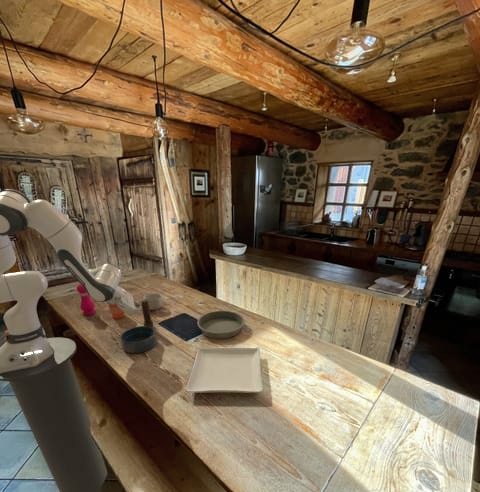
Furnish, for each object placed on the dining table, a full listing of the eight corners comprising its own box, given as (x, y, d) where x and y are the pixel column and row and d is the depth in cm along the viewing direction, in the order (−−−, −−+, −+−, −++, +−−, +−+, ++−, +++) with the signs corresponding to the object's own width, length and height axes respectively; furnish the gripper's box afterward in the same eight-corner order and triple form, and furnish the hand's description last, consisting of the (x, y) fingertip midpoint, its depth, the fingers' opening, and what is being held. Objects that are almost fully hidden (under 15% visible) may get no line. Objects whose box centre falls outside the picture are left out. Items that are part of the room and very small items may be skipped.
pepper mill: (98, 311, 160) (90, 279, 152) (91, 316, 154) (82, 283, 146) (87, 310, 161) (79, 279, 153) (79, 315, 155) (70, 283, 147)
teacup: (161, 303, 170) (160, 291, 167) (165, 309, 161) (163, 297, 158) (138, 307, 165) (136, 295, 161) (141, 314, 156) (138, 302, 152)
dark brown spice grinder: (145, 331, 137) (140, 303, 131) (143, 327, 141) (138, 300, 134) (154, 328, 140) (150, 301, 133) (152, 325, 143) (147, 298, 137)
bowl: (126, 358, 116) (123, 346, 114) (120, 342, 128) (117, 331, 125) (160, 347, 123) (159, 336, 121) (151, 333, 135) (149, 323, 133)
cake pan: (204, 345, 125) (204, 336, 123) (193, 322, 146) (192, 315, 144) (252, 334, 133) (252, 326, 131) (234, 314, 154) (234, 307, 152)
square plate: (259, 354, 118) (259, 346, 116) (262, 399, 93) (263, 391, 91) (198, 354, 118) (198, 346, 117) (185, 399, 93) (184, 390, 92)
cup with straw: (107, 316, 154) (100, 287, 146) (123, 311, 159) (117, 283, 152) (113, 321, 148) (106, 291, 140) (129, 316, 153) (123, 287, 146)
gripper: (120, 297, 117) (146, 312, 125) (118, 283, 135) (141, 298, 142) (111, 308, 118) (138, 323, 125) (110, 293, 135) (134, 307, 142)
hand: (140, 309), depth 134 cm, fingers open, 8 cm apart
